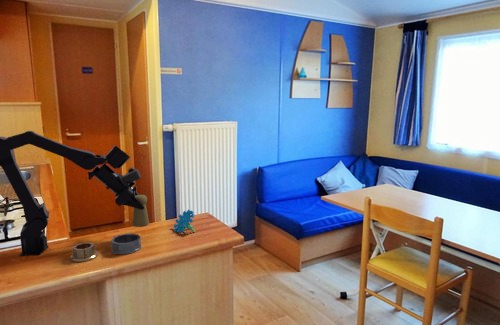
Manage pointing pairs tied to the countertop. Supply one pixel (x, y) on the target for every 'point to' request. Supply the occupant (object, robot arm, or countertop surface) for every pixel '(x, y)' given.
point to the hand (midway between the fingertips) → (143, 206)
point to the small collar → (84, 252)
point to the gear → (184, 221)
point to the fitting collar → (125, 244)
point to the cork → (140, 213)
